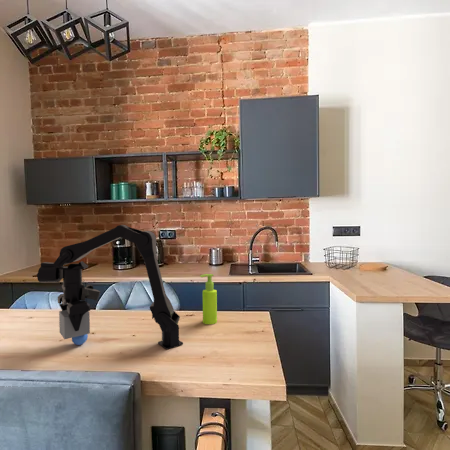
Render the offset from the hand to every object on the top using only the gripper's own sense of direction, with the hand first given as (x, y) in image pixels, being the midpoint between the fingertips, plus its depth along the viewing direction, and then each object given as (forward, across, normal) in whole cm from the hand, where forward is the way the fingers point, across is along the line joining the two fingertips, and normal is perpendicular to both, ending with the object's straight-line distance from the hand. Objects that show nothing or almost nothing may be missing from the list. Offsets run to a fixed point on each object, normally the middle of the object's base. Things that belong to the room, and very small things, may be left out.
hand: (73, 327), depth 103 cm
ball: (+4, 0, -2) cm, 4 cm away
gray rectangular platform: (+2, 0, 0) cm, 2 cm away
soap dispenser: (+7, -11, -49) cm, 51 cm away
